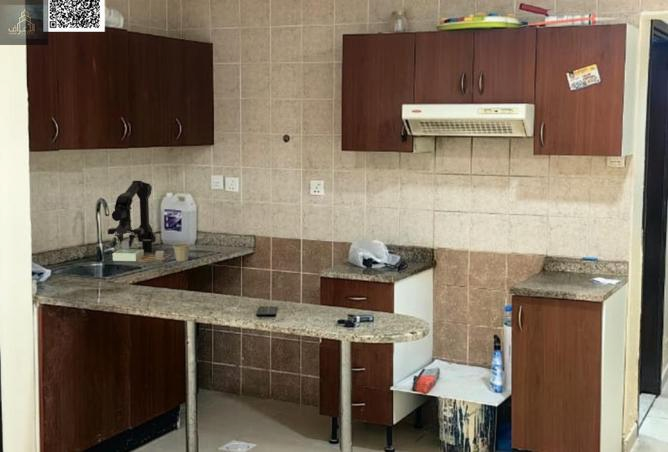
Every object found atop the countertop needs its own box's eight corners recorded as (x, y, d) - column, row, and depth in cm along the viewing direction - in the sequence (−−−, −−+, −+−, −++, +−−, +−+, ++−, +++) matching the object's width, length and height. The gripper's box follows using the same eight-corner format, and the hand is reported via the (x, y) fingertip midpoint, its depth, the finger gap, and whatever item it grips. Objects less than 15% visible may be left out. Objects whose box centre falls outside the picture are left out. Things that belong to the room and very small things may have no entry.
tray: (147, 256, 548) (147, 254, 548) (171, 257, 546) (171, 254, 546) (137, 262, 532) (136, 259, 532) (162, 262, 530) (162, 260, 529)
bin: (121, 257, 547) (121, 249, 547) (143, 257, 546) (143, 249, 545) (112, 261, 535) (112, 253, 534) (135, 262, 533) (135, 253, 532)
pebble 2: (156, 258, 540) (156, 251, 540) (164, 258, 541) (163, 250, 540) (155, 259, 536) (155, 252, 536) (163, 259, 537) (162, 252, 536)
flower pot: (170, 262, 532) (169, 246, 530) (177, 259, 541) (177, 243, 539) (186, 262, 529) (185, 246, 528) (193, 259, 538) (193, 244, 537)
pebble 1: (121, 248, 535) (121, 241, 535) (124, 247, 539) (124, 240, 538) (128, 248, 535) (128, 241, 534) (131, 247, 538) (131, 240, 538)
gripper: (103, 220, 528) (104, 249, 530) (136, 220, 525) (137, 249, 527) (110, 217, 539) (112, 245, 541) (143, 217, 536) (144, 246, 538)
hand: (126, 246), depth 537 cm, fingers closed on pebble 1, 4 cm apart
